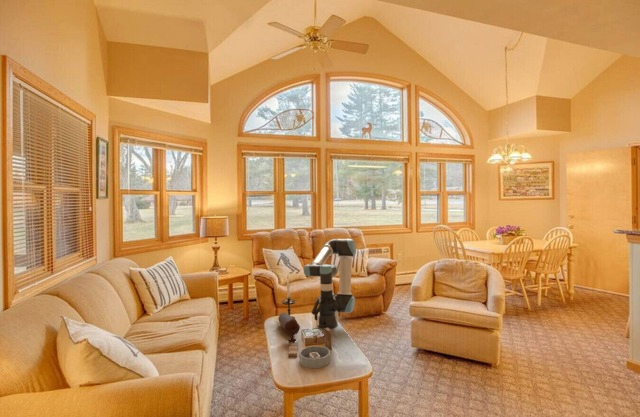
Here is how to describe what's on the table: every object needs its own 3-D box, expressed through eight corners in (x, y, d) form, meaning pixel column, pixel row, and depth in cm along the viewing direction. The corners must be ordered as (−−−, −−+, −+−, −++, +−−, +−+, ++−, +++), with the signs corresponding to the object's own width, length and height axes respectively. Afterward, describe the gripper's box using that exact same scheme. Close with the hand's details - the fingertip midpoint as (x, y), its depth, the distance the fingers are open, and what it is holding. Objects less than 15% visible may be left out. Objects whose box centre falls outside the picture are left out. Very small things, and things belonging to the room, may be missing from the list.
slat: (289, 349, 214) (289, 345, 214) (297, 348, 214) (297, 345, 214) (288, 358, 202) (288, 353, 202) (297, 357, 202) (296, 353, 202)
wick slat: (328, 346, 215) (327, 327, 215) (331, 349, 211) (331, 330, 211) (325, 346, 214) (324, 328, 214) (328, 349, 210) (327, 330, 210)
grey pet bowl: (322, 351, 208) (322, 343, 208) (335, 363, 191) (334, 355, 191) (295, 357, 201) (295, 349, 201) (306, 370, 185) (305, 361, 185)
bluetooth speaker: (277, 325, 254) (277, 312, 254) (289, 324, 257) (289, 311, 257) (285, 336, 233) (285, 322, 232) (298, 334, 236) (297, 320, 236)
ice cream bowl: (301, 337, 230) (300, 315, 230) (298, 344, 219) (298, 321, 219) (286, 337, 231) (285, 315, 231) (282, 344, 220) (282, 321, 220)
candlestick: (294, 322, 261) (292, 277, 260) (280, 321, 263) (279, 276, 262) (297, 317, 272) (296, 274, 271) (284, 316, 274) (283, 273, 273)
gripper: (341, 286, 220) (342, 318, 220) (305, 290, 210) (306, 324, 211) (346, 288, 213) (347, 321, 213) (310, 293, 204) (311, 328, 204)
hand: (327, 323), depth 212 cm, fingers open, 13 cm apart
